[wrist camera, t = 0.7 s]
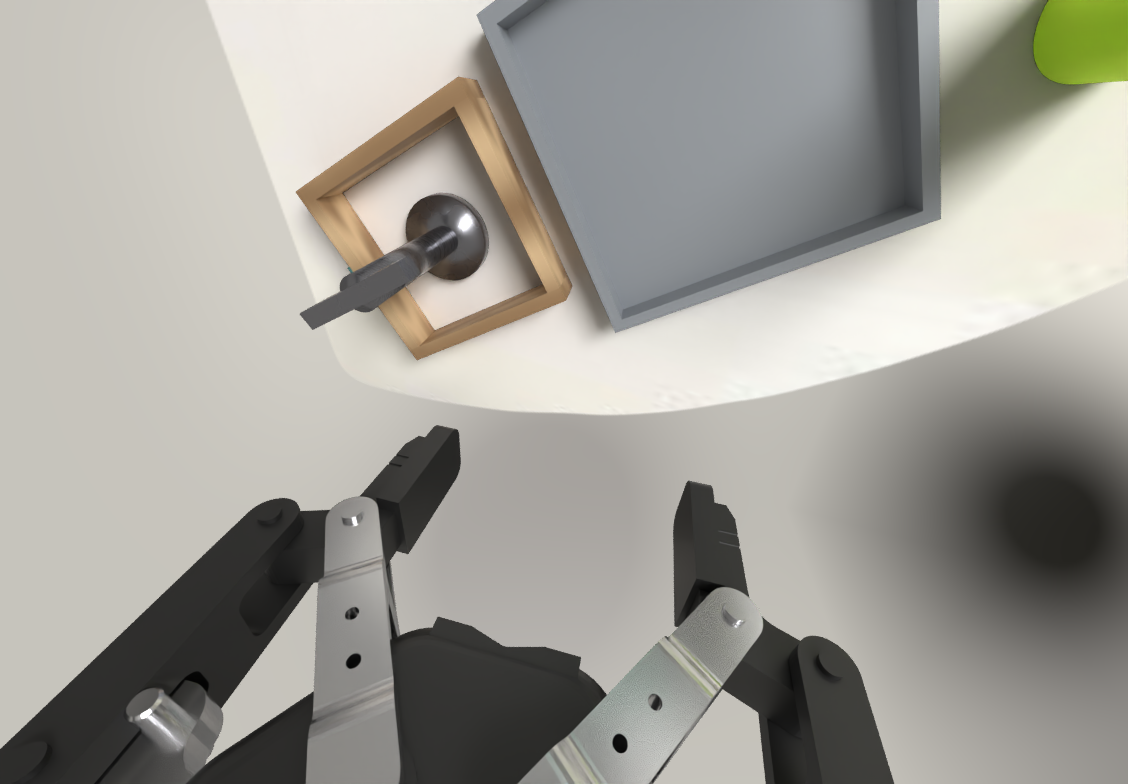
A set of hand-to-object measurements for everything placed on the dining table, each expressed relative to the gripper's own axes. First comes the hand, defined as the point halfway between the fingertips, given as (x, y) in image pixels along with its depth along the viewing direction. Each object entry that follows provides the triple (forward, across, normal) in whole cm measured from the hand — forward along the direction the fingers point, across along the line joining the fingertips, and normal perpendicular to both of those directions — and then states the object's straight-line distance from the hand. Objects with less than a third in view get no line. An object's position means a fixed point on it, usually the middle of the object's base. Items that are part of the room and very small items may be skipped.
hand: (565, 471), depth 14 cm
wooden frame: (+19, +13, -2) cm, 24 cm away
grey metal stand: (+19, +13, -2) cm, 24 cm away
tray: (+20, -4, -11) cm, 23 cm away
